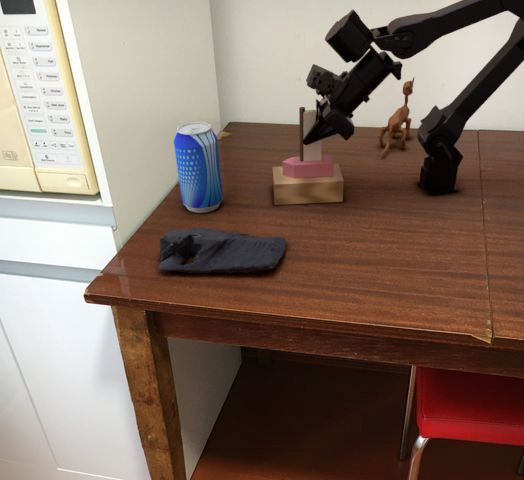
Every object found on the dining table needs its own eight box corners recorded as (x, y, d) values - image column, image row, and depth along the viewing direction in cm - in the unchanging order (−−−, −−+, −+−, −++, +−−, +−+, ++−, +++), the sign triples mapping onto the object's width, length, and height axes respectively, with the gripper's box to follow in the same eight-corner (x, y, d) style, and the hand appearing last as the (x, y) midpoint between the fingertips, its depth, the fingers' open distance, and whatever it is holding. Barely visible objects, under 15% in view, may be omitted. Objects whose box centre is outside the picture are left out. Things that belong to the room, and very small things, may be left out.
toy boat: (330, 167, 125) (332, 102, 116) (333, 176, 121) (335, 109, 113) (282, 170, 125) (280, 105, 116) (283, 179, 121) (281, 112, 113)
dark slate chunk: (275, 284, 99) (274, 260, 96) (150, 274, 103) (146, 250, 100) (291, 240, 110) (291, 216, 107) (179, 232, 115) (176, 209, 112)
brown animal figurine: (395, 161, 137) (401, 99, 129) (368, 157, 140) (372, 96, 131) (417, 135, 149) (424, 77, 141) (391, 132, 152) (397, 75, 143)
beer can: (174, 207, 124) (162, 129, 114) (204, 193, 128) (195, 117, 118) (201, 218, 119) (192, 138, 109) (231, 203, 124) (225, 125, 114)
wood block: (337, 183, 129) (338, 163, 126) (342, 201, 122) (343, 180, 119) (273, 186, 129) (272, 166, 126) (274, 205, 122) (273, 184, 119)
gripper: (327, 37, 115) (272, 99, 123) (338, 61, 101) (275, 130, 108) (365, 78, 120) (310, 136, 127) (381, 107, 106) (318, 170, 113)
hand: (303, 142), depth 119 cm, fingers closed on toy boat
